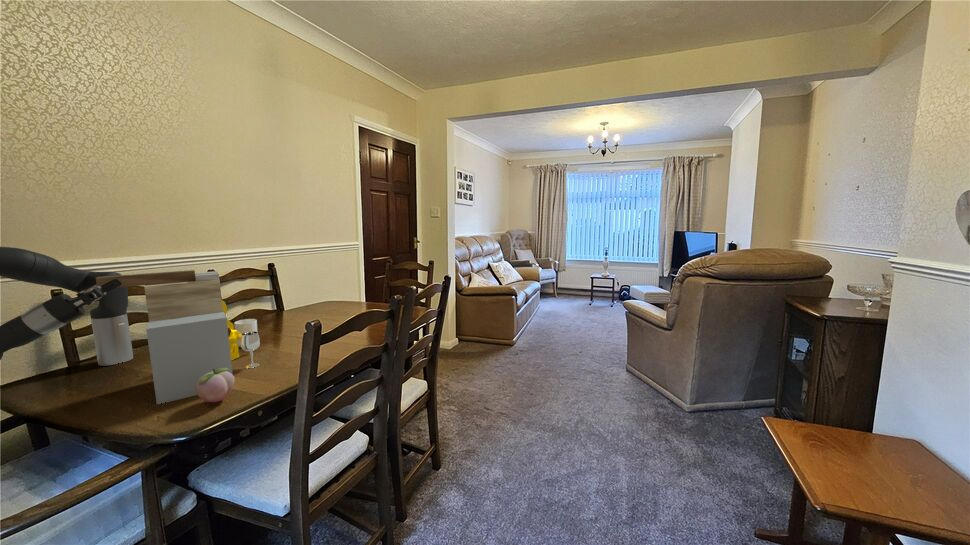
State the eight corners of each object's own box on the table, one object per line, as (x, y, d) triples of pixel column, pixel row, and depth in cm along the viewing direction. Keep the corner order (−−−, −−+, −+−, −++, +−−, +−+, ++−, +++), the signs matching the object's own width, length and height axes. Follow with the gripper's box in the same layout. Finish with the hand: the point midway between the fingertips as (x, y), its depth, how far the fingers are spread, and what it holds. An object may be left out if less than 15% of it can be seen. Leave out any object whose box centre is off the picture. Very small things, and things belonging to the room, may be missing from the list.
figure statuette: (205, 369, 128) (198, 307, 124) (195, 364, 132) (187, 305, 128) (258, 353, 143) (253, 298, 140) (247, 349, 147) (242, 295, 144)
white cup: (248, 348, 148) (245, 324, 147) (231, 347, 150) (229, 323, 148) (263, 342, 156) (261, 319, 154) (247, 341, 157) (245, 318, 156)
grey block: (158, 393, 110) (148, 322, 107) (230, 376, 121) (223, 312, 118) (156, 404, 103) (146, 328, 100) (233, 386, 114) (226, 317, 111)
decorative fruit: (214, 394, 109) (211, 362, 108) (241, 394, 109) (238, 362, 107) (188, 410, 100) (184, 375, 98) (218, 410, 100) (214, 375, 98)
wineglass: (239, 367, 129) (235, 334, 127) (254, 362, 134) (251, 330, 132) (250, 370, 126) (247, 336, 125) (265, 364, 132) (262, 331, 130)
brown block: (100, 286, 108) (98, 275, 108) (217, 277, 126) (216, 267, 125) (95, 290, 102) (94, 279, 102) (219, 279, 120) (218, 270, 119)
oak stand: (159, 379, 120) (146, 282, 115) (226, 365, 131) (217, 276, 127) (158, 389, 112) (144, 286, 108) (229, 373, 124) (219, 280, 119)
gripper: (33, 308, 93) (107, 271, 101) (48, 299, 104) (114, 266, 112) (60, 330, 96) (129, 292, 104) (72, 319, 107) (134, 286, 115)
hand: (121, 279), depth 108 cm, fingers open, 8 cm apart
